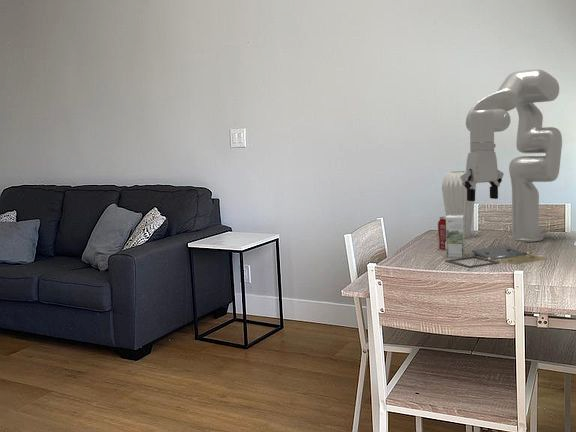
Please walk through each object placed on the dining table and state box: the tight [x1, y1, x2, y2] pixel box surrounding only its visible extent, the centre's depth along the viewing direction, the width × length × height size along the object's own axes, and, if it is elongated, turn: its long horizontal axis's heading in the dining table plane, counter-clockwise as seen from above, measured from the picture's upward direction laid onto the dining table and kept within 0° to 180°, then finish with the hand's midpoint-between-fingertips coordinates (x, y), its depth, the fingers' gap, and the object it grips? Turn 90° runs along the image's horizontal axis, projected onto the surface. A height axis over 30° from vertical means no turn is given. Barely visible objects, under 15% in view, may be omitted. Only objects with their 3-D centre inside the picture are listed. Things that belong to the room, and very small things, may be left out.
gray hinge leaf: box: [471, 245, 527, 261], centre depth 204 cm, size 14×10×1 cm
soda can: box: [437, 216, 447, 251], centre depth 219 cm, size 7×7×12 cm
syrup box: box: [445, 215, 466, 258], centre depth 206 cm, size 6×6×14 cm
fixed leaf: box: [485, 250, 549, 266], centre depth 196 cm, size 18×11×2 cm, turn 113°
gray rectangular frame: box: [445, 255, 501, 272], centre depth 194 cm, size 12×12×1 cm
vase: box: [441, 170, 477, 239], centre depth 244 cm, size 13×13×26 cm
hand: (482, 199), depth 203 cm, fingers open, 9 cm apart
